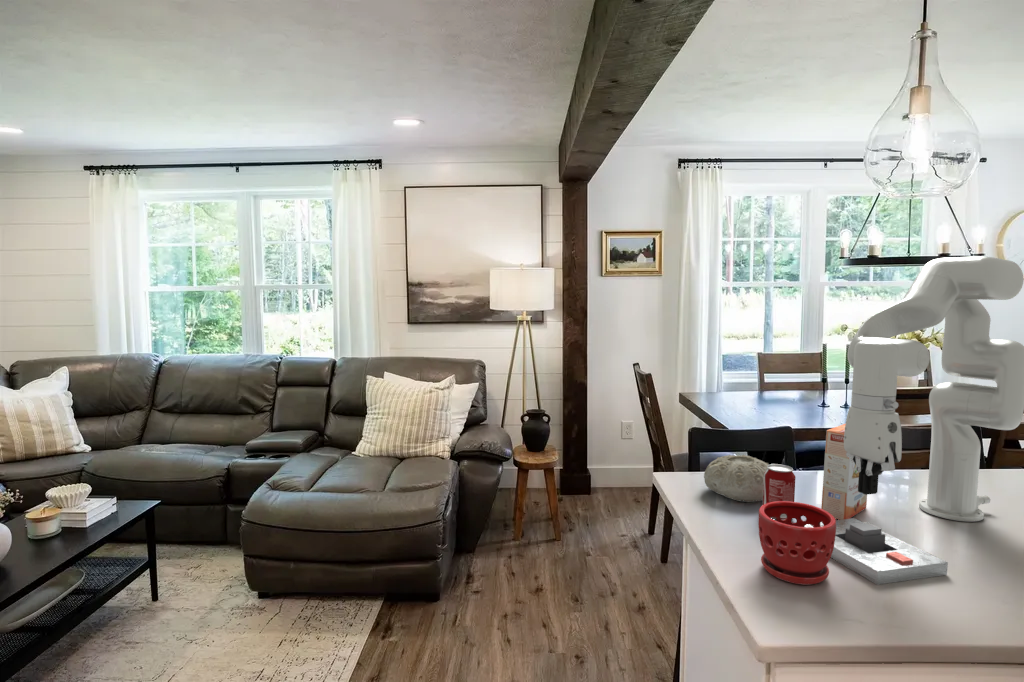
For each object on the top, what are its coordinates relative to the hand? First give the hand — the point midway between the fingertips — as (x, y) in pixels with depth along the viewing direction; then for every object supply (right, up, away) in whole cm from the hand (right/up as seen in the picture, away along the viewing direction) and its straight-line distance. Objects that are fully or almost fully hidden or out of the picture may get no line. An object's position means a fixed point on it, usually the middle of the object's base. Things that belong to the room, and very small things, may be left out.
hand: (867, 492), depth 119 cm
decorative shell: (-12, -10, +35) cm, 39 cm away
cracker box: (+9, -11, +24) cm, 28 cm away
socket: (0, -13, +1) cm, 13 cm away
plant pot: (-18, -14, -7) cm, 24 cm away
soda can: (-9, -11, +21) cm, 25 cm away
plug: (0, -13, +1) cm, 13 cm away
